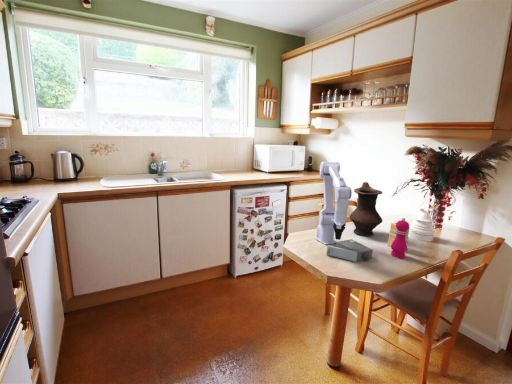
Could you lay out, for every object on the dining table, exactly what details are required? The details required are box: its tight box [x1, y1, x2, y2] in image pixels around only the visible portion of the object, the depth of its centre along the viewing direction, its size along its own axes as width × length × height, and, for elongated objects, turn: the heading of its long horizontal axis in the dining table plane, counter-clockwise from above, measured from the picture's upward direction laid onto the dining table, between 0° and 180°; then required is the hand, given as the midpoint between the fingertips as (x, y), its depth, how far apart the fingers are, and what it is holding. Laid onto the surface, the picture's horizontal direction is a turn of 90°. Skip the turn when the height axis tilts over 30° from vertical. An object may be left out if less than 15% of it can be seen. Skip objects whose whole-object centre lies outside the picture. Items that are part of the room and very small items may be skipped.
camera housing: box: [335, 239, 373, 262], centre depth 143 cm, size 15×10×5 cm, turn 27°
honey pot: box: [408, 207, 435, 243], centre depth 170 cm, size 13×13×18 cm
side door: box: [326, 244, 358, 262], centre depth 138 cm, size 14×2×4 cm, turn 62°
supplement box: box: [387, 222, 410, 248], centre depth 153 cm, size 8×5×13 cm, turn 21°
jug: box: [348, 181, 383, 237], centre depth 172 cm, size 21×18×30 cm
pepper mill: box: [390, 217, 410, 259], centre depth 142 cm, size 7×7×20 cm
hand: (337, 238), depth 141 cm, fingers open, 2 cm apart
